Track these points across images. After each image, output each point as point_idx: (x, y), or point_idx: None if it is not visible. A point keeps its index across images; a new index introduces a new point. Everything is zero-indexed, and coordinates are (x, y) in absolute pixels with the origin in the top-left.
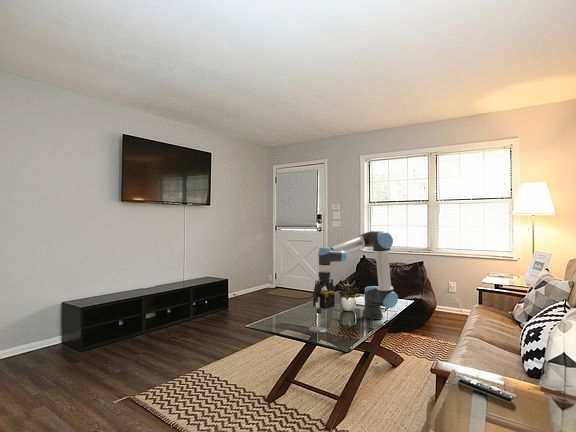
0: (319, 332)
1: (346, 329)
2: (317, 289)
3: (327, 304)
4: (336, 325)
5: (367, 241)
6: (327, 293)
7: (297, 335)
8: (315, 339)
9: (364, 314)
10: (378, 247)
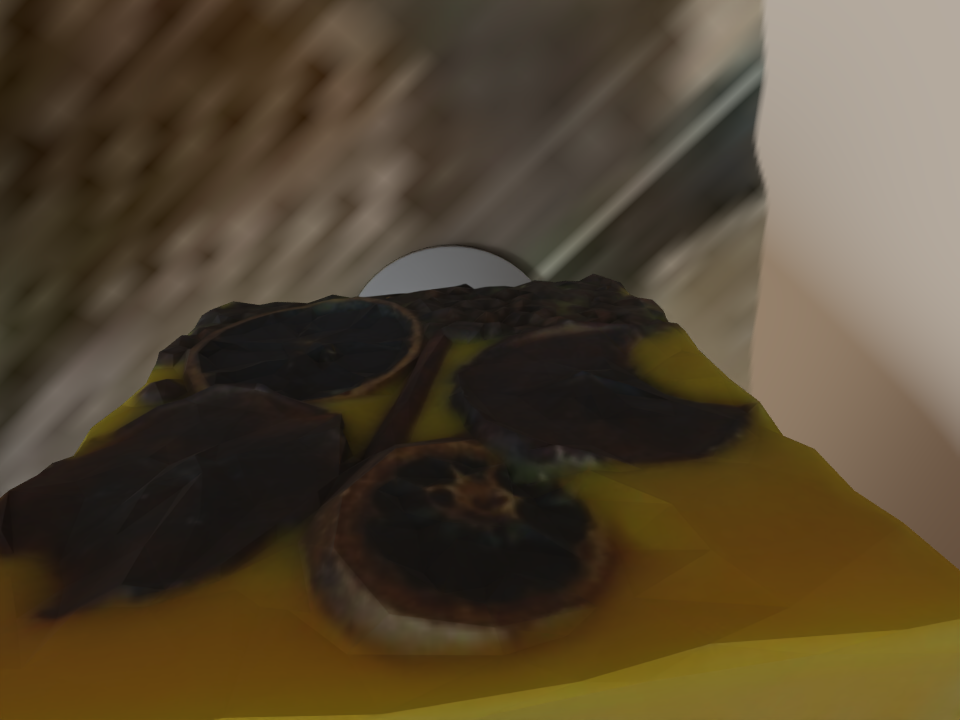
0: (518, 270)
1: (94, 172)
2: None
3: (552, 316)
4: (114, 368)
5: None
6: (772, 612)
7: (730, 351)
8: (719, 137)
9: None
10: None
